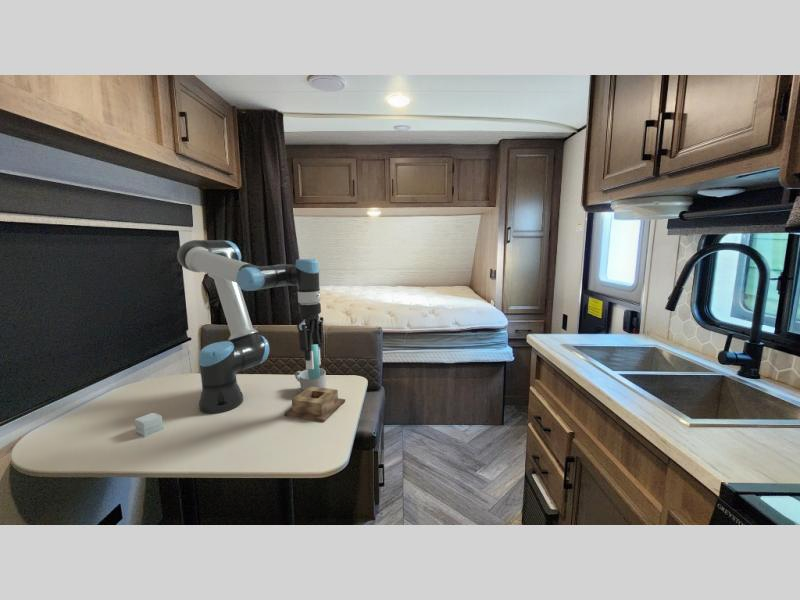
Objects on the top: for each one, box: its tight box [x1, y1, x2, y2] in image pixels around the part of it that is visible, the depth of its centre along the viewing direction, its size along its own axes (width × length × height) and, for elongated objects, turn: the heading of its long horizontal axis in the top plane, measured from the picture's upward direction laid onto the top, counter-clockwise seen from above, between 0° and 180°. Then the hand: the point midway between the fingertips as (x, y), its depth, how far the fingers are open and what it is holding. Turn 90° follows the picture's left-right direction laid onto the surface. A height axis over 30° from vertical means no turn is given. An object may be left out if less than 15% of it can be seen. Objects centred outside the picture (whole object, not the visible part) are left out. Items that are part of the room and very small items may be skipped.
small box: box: [134, 412, 164, 438], centre depth 112 cm, size 6×6×5 cm
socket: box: [283, 386, 346, 423], centre depth 126 cm, size 16×16×6 cm
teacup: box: [294, 367, 327, 392], centre depth 142 cm, size 14×11×8 cm
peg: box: [308, 343, 320, 379], centre depth 123 cm, size 4×4×12 cm
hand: (313, 366), depth 124 cm, fingers closed on peg, 4 cm apart
